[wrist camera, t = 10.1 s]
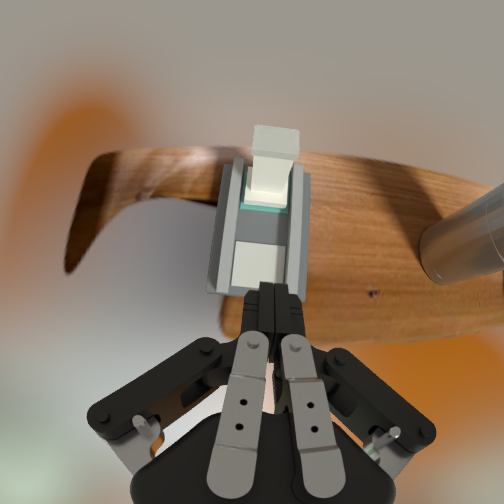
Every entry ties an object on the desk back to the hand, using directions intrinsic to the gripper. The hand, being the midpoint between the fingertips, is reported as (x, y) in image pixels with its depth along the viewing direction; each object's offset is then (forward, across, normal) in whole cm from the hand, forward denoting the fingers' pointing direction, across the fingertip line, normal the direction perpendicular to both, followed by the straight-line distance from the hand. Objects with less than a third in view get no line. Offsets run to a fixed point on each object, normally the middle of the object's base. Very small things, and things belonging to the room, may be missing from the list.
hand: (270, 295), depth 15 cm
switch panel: (+19, 0, +6) cm, 20 cm away
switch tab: (+20, 0, +1) cm, 20 cm away
